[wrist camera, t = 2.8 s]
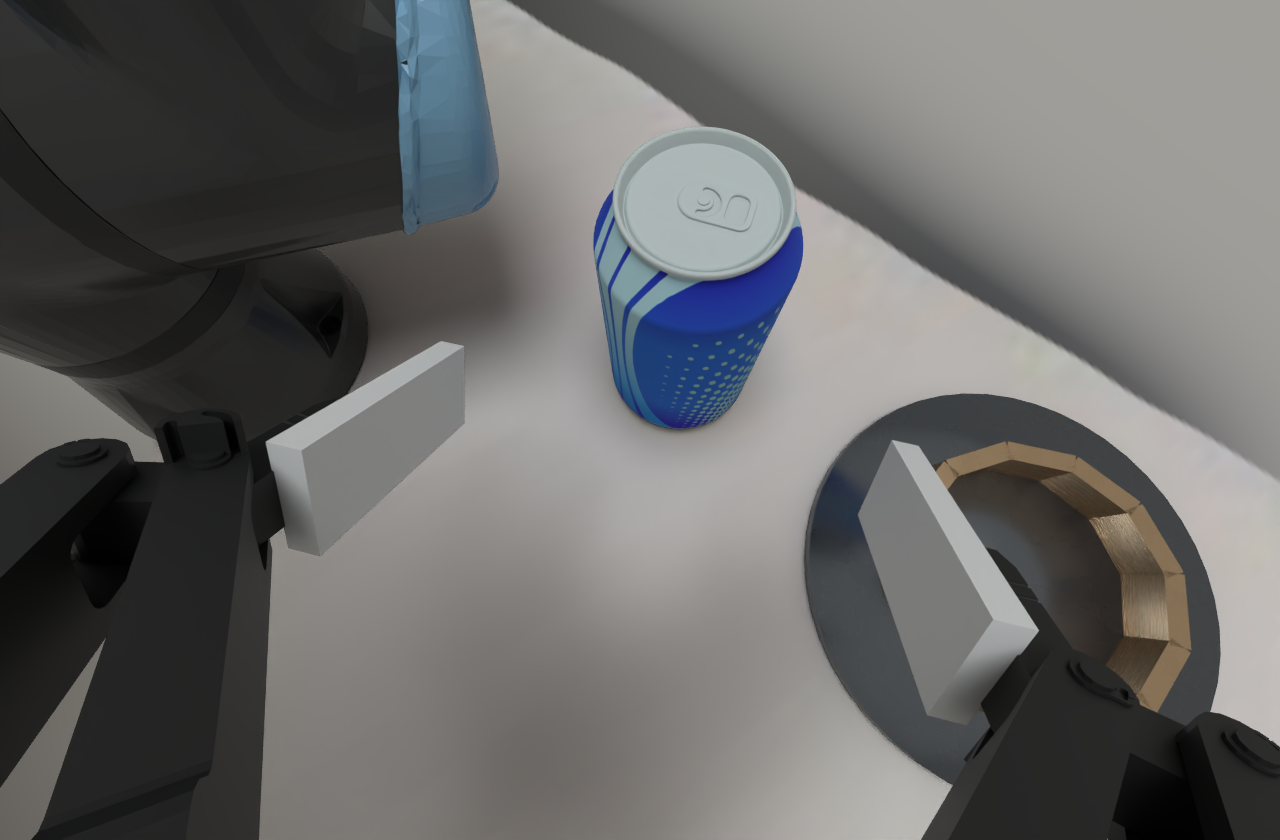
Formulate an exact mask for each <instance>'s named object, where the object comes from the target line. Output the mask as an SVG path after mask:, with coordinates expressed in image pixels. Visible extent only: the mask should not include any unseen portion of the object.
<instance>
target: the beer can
mask: <svg viewBox="0 0 1280 840" xmlns="http://www.w3.org/2000/svg"><path fill="white" fill-rule="evenodd" d="M594 257H595V264H596V270H597V276H598V283H599V289H600V295H601V302H602V308H603V315H604V321H605V327H606V334H607V340H608V346H609V353H610V359H611V365H612V372H613V377H614V382H615V385H616V388H617V390H618V392H619V394H620V395H621V397H622V399H623V400H624V401H625V403H626V404H627V405H628V406H629V407H630V408H631V409H632V410H633V411H634V412H635V413H636V414H638V415H639V416H640V417H642V418H643V419H645V420H647V421H649V422H651V423H654V424H656V425H659V426H663V427H668V428H677V429H682V428H693V427H697V426H701V425H704V424H706V423H709V422H711V421H713V420H715V419H716V418H718V417H719V416H721V415H722V414H723V413H725V412H726V411H727V410H728V409H729V408H730V407H731V406H732V405H733V403H734V402H735V401H736V399H737V397H738V396H739V394H740V392H741V390H742V388H743V386H744V384H745V382H746V380H747V378H748V376H749V374H750V372H751V370H752V368H753V366H754V364H755V362H756V360H757V358H758V356H759V353H760V351H761V349H762V347H763V345H764V343H765V341H766V339H767V337H768V335H769V333H770V331H771V329H772V327H773V325H774V323H775V321H776V319H777V317H778V315H779V313H780V311H781V309H782V307H783V305H784V303H785V301H786V299H787V297H788V295H789V293H790V291H791V289H792V287H793V285H794V283H795V281H796V279H797V276H798V273H799V270H800V267H801V262H802V257H803V236H802V229H801V225H800V221H799V218H798V215H797V213H796V196H795V190H794V186H793V183H792V181H791V178H790V176H789V174H788V172H787V170H786V169H785V167H784V166H783V164H782V163H781V162H780V161H779V159H778V158H777V157H776V156H775V155H774V154H773V153H772V152H771V151H769V150H768V149H767V148H766V147H764V146H763V145H761V144H760V143H758V142H757V141H755V140H753V139H751V138H749V137H747V136H745V135H742V134H739V133H737V132H733V131H730V130H726V129H721V128H714V127H690V128H683V129H678V130H674V131H670V132H667V133H664V134H662V135H660V136H657V137H655V138H653V139H651V140H650V141H648V142H646V143H645V144H644V145H642V146H641V147H640V148H638V149H637V150H636V151H635V152H634V153H633V154H632V155H631V156H630V157H629V158H628V160H627V161H626V162H625V163H624V165H623V167H622V168H621V170H620V172H619V174H618V176H617V179H616V182H615V185H614V189H613V190H612V192H611V193H610V194H609V196H608V197H607V199H606V200H605V202H604V204H603V206H602V208H601V210H600V213H599V215H598V218H597V221H596V225H595V231H594Z"/></svg>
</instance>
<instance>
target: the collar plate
mask: <svg viewBox="0 0 1280 840" xmlns="http://www.w3.org/2000/svg"><path fill="white" fill-rule="evenodd" d="M891 440H894V441H899V442H903V443H908V444H912V445H917V446H919V447H920V449H921V450H922V452H923V453H924V455H925V456H926V458H927V460H928V461H929V463H930V464H931V466H932V467H933V469H934V470H935V472H936V473H937V475H938V476H939V478H940V479H941V481H942V483H943V484H944V486H945V487H946V489H947V490H948V492H949V493H950V495H951V496H952V498H953V499H954V501H955V502H956V504H957V506H958V507H959V509H960V510H961V512H962V513H963V515H964V516H965V518H966V519H967V521H968V522H969V524H970V525H971V527H972V529H973V530H974V532H975V533H976V535H977V536H978V538H979V539H980V541H981V542H982V544H983V545H984V547H986V548H990V549H995V550H997V551H998V552H999V553H1000V554H1002V555H1003V556H1004V557H1005V558H1006V559H1007V560H1008V561H1009V562H1011V563H1012V564H1013V565H1014V566H1015V567H1016V568H1017V569H1018V571H1019V572H1020V574H1021V575H1022V577H1023V578H1024V579H1025V581H1026V582H1027V584H1028V588H1031V589H1032V591H1033V592H1034V594H1035V595H1036V597H1037V598H1038V603H1041V604H1042V605H1043V607H1044V608H1045V610H1046V611H1047V612H1048V614H1049V615H1050V617H1051V618H1052V620H1053V621H1054V622H1055V624H1056V625H1057V627H1058V628H1059V630H1060V631H1061V632H1062V634H1063V635H1064V637H1065V638H1066V640H1067V641H1068V643H1069V644H1070V645H1071V647H1072V648H1073V650H1077V651H1080V652H1083V653H1085V654H1087V655H1089V656H1091V657H1093V658H1095V659H1097V660H1098V661H1100V662H1102V663H1103V664H1105V665H1106V666H1107V667H1109V668H1110V669H1111V670H1113V671H1114V672H1116V673H1117V674H1118V675H1119V676H1120V677H1121V678H1122V679H1123V680H1124V681H1125V682H1126V683H1127V684H1128V685H1129V686H1130V687H1131V688H1132V690H1133V691H1134V693H1135V694H1136V696H1137V698H1138V699H1139V701H1140V705H1142V706H1144V707H1146V708H1148V709H1150V710H1152V711H1155V712H1157V713H1159V714H1161V715H1163V716H1165V717H1168V718H1170V719H1172V720H1174V721H1176V722H1178V723H1181V724H1183V725H1185V726H1186V725H1188V724H1189V723H1190V722H1191V721H1192V720H1193V719H1194V718H1195V717H1196V716H1198V715H1199V714H1202V713H1204V712H1210V710H1211V707H1212V703H1213V699H1214V695H1215V691H1216V688H1217V684H1218V675H1219V665H1220V630H1219V622H1218V616H1217V610H1216V604H1215V599H1214V595H1213V592H1212V589H1211V585H1210V582H1209V579H1208V575H1207V572H1206V569H1205V567H1204V565H1203V562H1202V560H1201V558H1200V555H1199V553H1198V551H1197V548H1196V546H1195V544H1194V542H1193V540H1192V539H1191V537H1190V535H1189V533H1188V531H1187V530H1186V528H1185V526H1184V524H1183V522H1182V521H1181V519H1180V518H1179V516H1178V515H1177V513H1176V512H1175V510H1174V509H1173V508H1172V506H1171V505H1170V503H1169V502H1168V500H1167V499H1166V498H1165V496H1164V495H1163V494H1162V493H1161V492H1160V490H1159V489H1158V488H1157V487H1156V486H1155V485H1154V483H1153V482H1152V481H1151V480H1150V479H1149V478H1148V476H1147V475H1146V474H1145V473H1143V472H1142V471H1141V470H1140V469H1139V468H1138V467H1137V466H1136V465H1135V464H1134V463H1133V462H1132V461H1131V460H1130V459H1129V458H1128V457H1127V456H1126V455H1124V454H1123V453H1122V452H1120V451H1119V450H1118V449H1117V448H1115V447H1114V446H1113V445H1112V444H1110V443H1109V442H1108V441H1106V440H1105V439H1104V438H1102V437H1101V436H1099V435H1097V434H1096V433H1094V432H1093V431H1091V430H1090V429H1088V428H1086V427H1085V426H1083V425H1081V424H1079V423H1078V422H1076V421H1074V420H1072V419H1070V418H1068V417H1066V416H1064V415H1062V414H1060V413H1057V412H1055V411H1052V410H1049V409H1047V408H1044V407H1041V406H1039V405H1036V404H1033V403H1029V402H1025V401H1021V400H1018V399H1014V398H1009V397H1002V396H995V395H989V394H956V395H945V396H939V397H934V398H930V399H925V400H921V401H918V402H915V403H913V404H910V405H907V406H905V407H902V408H899V409H897V410H896V411H894V412H892V413H890V414H888V415H886V416H885V417H883V418H881V419H879V420H878V421H876V422H875V423H874V424H872V425H871V426H870V427H868V428H867V429H866V430H864V431H863V432H862V433H860V434H859V435H858V436H856V437H855V438H854V439H853V440H852V441H851V442H850V444H849V445H848V446H847V447H846V448H845V449H844V450H843V451H842V452H841V453H840V454H839V456H838V457H837V458H836V460H835V461H834V463H833V464H832V465H831V467H830V468H829V470H828V471H827V473H826V475H825V477H824V479H823V481H822V483H821V485H820V487H819V489H818V491H817V494H816V497H815V500H814V503H813V506H812V509H811V512H810V517H809V522H808V527H807V532H806V541H805V557H804V561H805V577H806V588H807V593H808V598H809V604H810V609H811V613H812V616H813V620H814V623H815V626H816V629H817V632H818V635H819V639H820V641H821V643H822V645H823V647H824V650H825V652H826V654H827V656H828V659H829V661H830V663H831V665H832V667H833V669H834V670H835V672H836V674H837V675H838V677H839V679H840V680H841V682H842V684H843V686H844V687H845V689H846V691H847V692H848V693H849V695H850V696H851V697H852V699H853V700H854V701H855V703H856V704H857V705H858V707H859V708H860V709H861V711H862V712H863V713H864V715H865V716H866V717H867V718H868V719H869V720H870V721H871V722H872V723H873V724H874V725H875V726H876V727H877V728H878V729H879V730H880V732H881V733H882V734H883V735H884V736H885V737H886V738H887V739H889V740H890V741H891V742H892V743H893V744H894V745H896V746H897V747H898V748H899V749H900V750H902V751H903V752H904V753H905V754H906V755H908V756H909V757H910V758H911V759H913V760H914V761H916V762H918V763H919V764H921V765H922V766H924V767H925V768H927V769H928V770H930V771H931V772H933V773H934V774H936V775H937V776H939V777H940V778H942V779H943V780H945V781H946V782H948V783H950V784H952V785H954V783H955V781H956V780H957V778H958V776H959V774H960V773H961V771H962V769H963V768H964V766H965V764H966V763H967V762H966V761H965V760H964V758H965V757H966V756H967V754H968V753H969V752H970V751H971V749H972V748H973V747H974V746H975V744H976V743H977V742H978V741H979V739H980V738H981V737H982V736H983V734H984V733H985V732H986V731H987V730H988V728H989V727H990V724H989V722H988V720H987V717H986V715H985V713H984V711H983V709H982V706H981V707H980V708H979V710H978V711H977V712H976V714H975V715H974V716H973V717H972V719H971V720H970V721H969V723H968V724H967V725H963V724H959V723H955V722H951V721H947V720H943V719H940V718H936V717H932V716H928V715H927V714H926V711H925V708H924V705H923V702H922V699H921V697H920V694H919V691H918V688H917V685H916V682H915V679H914V676H913V673H912V670H911V668H910V665H909V662H908V659H907V656H906V653H905V650H904V647H903V644H902V641H901V639H900V636H899V633H898V630H897V627H896V624H895V621H894V618H893V615H892V612H891V610H890V607H889V604H888V601H887V598H886V595H885V592H884V589H883V586H882V583H881V581H880V578H879V575H878V572H877V569H876V566H875V563H874V560H873V557H872V555H871V552H870V549H869V546H868V543H867V540H866V537H865V534H864V531H863V528H862V526H861V523H860V520H859V517H858V513H859V511H860V509H861V507H862V504H863V502H864V500H865V498H866V496H867V493H868V491H869V489H870V487H871V485H872V482H873V480H874V478H875V476H876V474H877V471H878V469H879V467H880V465H881V462H882V460H883V458H884V456H885V454H886V451H887V449H888V447H889V445H890V443H891Z"/></svg>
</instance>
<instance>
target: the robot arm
mask: <svg viewBox="0 0 1280 840" xmlns="http://www.w3.org/2000/svg"><path fill="white" fill-rule="evenodd" d="M498 177H499V170H498V161H497V154H496V148H495V142H494V137H493V131H492V125H491V119H490V113H489V108H488V102H487V96H486V90H485V85H484V79H483V73H482V68H481V62H480V57H479V51H478V46H477V41H476V35H475V29H474V24H473V18H472V12H471V6H470V0H0V352H1V353H5V354H7V355H10V356H13V357H15V358H18V359H21V360H24V361H27V362H30V363H33V364H36V365H39V366H41V367H44V368H47V369H50V370H53V371H55V372H58V373H60V374H63V375H66V376H68V377H70V378H71V379H72V380H73V381H75V382H76V383H77V384H79V385H80V386H81V387H82V388H84V389H85V390H86V391H88V392H89V393H90V394H92V395H93V396H94V397H96V398H97V399H98V400H99V401H101V402H102V403H103V404H105V405H106V406H107V407H109V408H110V409H111V410H113V411H114V412H115V413H117V414H118V415H119V416H120V417H122V418H123V419H124V420H125V421H127V422H128V423H129V424H131V425H132V426H133V427H135V428H136V429H137V430H139V431H140V432H142V433H144V434H145V435H147V436H149V437H151V438H153V439H155V440H157V441H158V444H159V448H160V451H161V454H162V457H163V460H164V463H162V462H134V459H133V456H132V454H131V451H130V448H129V447H128V445H127V443H125V442H122V441H120V440H117V439H104V438H101V439H82V440H78V441H72V442H68V443H65V444H63V445H61V446H58V447H56V448H52V449H49V450H48V451H46V452H44V453H42V454H41V455H39V456H37V457H36V458H34V459H33V460H32V461H30V462H29V463H28V464H26V465H25V466H24V467H23V468H21V469H20V470H19V471H17V472H16V473H15V474H14V475H12V476H11V477H10V478H9V479H7V480H6V481H5V482H3V483H2V484H1V485H0V787H1V786H2V785H3V783H4V782H5V780H6V779H7V778H8V776H9V774H10V773H11V772H12V770H13V769H14V768H15V766H16V765H17V763H18V762H19V760H20V759H21V758H22V756H23V755H24V753H25V752H26V750H27V749H28V748H29V746H30V745H31V743H32V742H33V741H34V739H35V738H36V736H37V735H38V733H39V732H40V731H41V729H42V728H43V726H44V725H45V723H46V722H47V721H48V719H49V718H50V716H51V715H52V713H53V712H54V711H55V709H56V708H57V706H58V705H59V703H60V702H61V700H62V699H63V698H64V696H65V695H66V693H67V692H68V691H69V689H70V688H71V686H72V685H73V683H74V682H75V681H76V679H77V678H78V676H79V675H80V674H81V672H82V671H83V669H84V668H85V667H86V665H87V663H88V662H89V660H90V659H91V658H92V657H93V655H94V654H95V652H96V651H97V649H98V648H99V646H100V645H101V644H102V642H103V641H104V639H105V638H106V640H105V642H104V645H103V648H102V651H101V654H100V657H99V660H98V663H97V666H96V669H95V671H94V674H93V677H92V680H91V683H90V686H89V689H88V692H87V695H86V698H85V701H84V704H83V707H82V709H81V713H80V715H79V718H78V721H77V724H76V727H75V730H74V733H73V736H72V739H71V741H70V744H69V747H68V750H67V754H66V756H65V759H64V762H63V765H62V768H61V771H60V774H59V776H58V779H57V782H56V785H55V788H54V791H53V794H52V797H51V800H50V803H49V806H48V809H47V811H46V814H45V818H44V820H43V822H42V824H41V826H40V829H39V831H38V832H37V834H36V835H35V836H34V837H33V838H32V840H259V823H260V802H261V780H262V759H263V738H264V716H265V695H266V674H267V652H268V631H269V610H270V589H271V567H272V547H271V543H270V539H269V538H271V537H272V536H273V535H274V534H276V533H277V532H278V531H279V530H281V529H282V528H283V527H284V530H285V535H286V539H287V544H288V548H291V549H294V550H298V551H302V552H306V553H310V554H314V555H317V556H321V555H322V554H323V553H324V552H325V551H326V550H328V549H329V548H330V547H331V546H332V545H333V544H334V543H335V542H336V541H337V540H338V539H339V538H341V537H342V536H343V535H344V534H345V533H346V532H347V531H348V530H349V529H350V528H351V527H352V526H354V525H355V524H356V523H357V522H358V521H359V520H360V519H361V518H362V517H363V516H364V515H365V514H367V513H368V512H369V511H370V510H371V509H372V508H373V507H374V506H375V505H376V504H377V503H378V502H380V501H381V500H382V499H383V498H384V497H385V496H386V495H387V494H388V493H389V492H390V491H391V490H393V489H394V488H395V487H396V486H397V485H398V484H399V483H400V482H401V481H402V480H403V479H404V478H406V477H407V476H408V475H409V474H410V473H411V472H412V471H413V470H414V469H415V468H416V467H417V466H419V465H420V464H421V463H422V462H423V461H424V460H425V459H426V458H427V457H428V456H429V455H431V454H432V453H433V452H434V451H435V450H436V449H437V448H438V447H439V446H440V445H441V444H442V443H444V442H445V441H446V440H447V439H448V438H449V437H450V436H451V435H452V434H453V433H454V432H455V431H457V430H458V429H459V428H460V427H461V426H462V425H463V424H464V346H462V345H457V344H452V343H448V342H443V341H440V342H438V343H437V344H435V345H433V346H432V347H430V348H428V349H426V350H425V351H423V352H421V353H419V354H418V355H416V356H414V357H412V358H411V359H409V360H407V361H405V362H404V363H402V364H400V365H398V366H397V367H395V368H393V369H391V370H390V371H388V372H386V373H384V374H383V375H381V376H379V377H378V378H376V379H374V380H372V381H371V382H369V383H367V384H365V385H364V386H362V387H360V388H358V389H357V390H355V391H353V392H351V393H350V394H348V395H346V396H344V395H345V393H346V392H347V390H348V389H349V387H350V386H351V384H352V382H353V381H354V379H355V377H356V375H357V373H358V371H359V368H360V366H361V363H362V360H363V357H364V353H365V349H366V343H367V317H366V312H365V308H364V305H363V302H362V300H361V297H360V295H359V293H358V291H357V290H356V288H355V287H354V285H353V284H352V283H351V281H350V280H349V279H348V278H347V277H346V276H345V275H344V274H343V273H342V272H341V271H340V270H339V269H338V268H337V267H336V266H335V265H334V264H333V263H332V262H331V261H330V260H329V259H328V258H327V257H326V256H325V255H323V254H322V253H321V252H319V251H318V250H316V249H315V248H318V247H323V246H327V245H332V244H337V243H342V242H346V241H351V240H356V239H360V238H365V237H370V236H375V235H379V234H384V233H389V232H394V231H398V230H403V231H404V233H405V234H412V233H414V232H416V231H417V229H418V227H420V226H423V225H427V224H430V223H434V222H438V221H442V220H446V219H450V218H454V217H457V216H461V215H465V214H469V213H472V212H475V211H476V210H478V209H480V208H482V207H483V206H484V205H486V203H487V202H488V201H489V200H490V199H491V197H492V196H493V194H494V192H495V190H496V187H497V184H498ZM343 396H344V397H343ZM342 397H343V398H342ZM858 517H859V520H860V523H861V526H862V528H863V531H864V534H865V537H866V540H867V543H868V546H869V549H870V552H871V555H872V557H873V560H874V563H875V566H876V569H877V572H878V575H879V578H880V581H881V583H882V586H883V589H884V592H885V595H886V598H887V601H888V604H889V607H890V610H891V612H892V615H893V618H894V621H895V624H896V627H897V630H898V633H899V636H900V639H901V641H902V644H903V647H904V650H905V653H906V656H907V659H908V662H909V665H910V668H911V670H912V673H913V676H914V679H915V682H916V685H917V688H918V691H919V694H920V697H921V699H922V702H923V705H924V708H925V711H926V714H927V715H928V716H932V717H936V718H940V719H943V720H947V721H951V722H955V723H959V724H963V725H967V724H968V723H969V721H970V720H971V719H972V717H973V716H974V715H975V714H976V712H977V711H978V710H979V708H980V707H981V706H982V709H983V711H984V713H985V715H986V717H987V720H988V722H989V724H990V727H989V728H988V730H987V731H986V732H985V733H984V734H983V736H982V737H981V738H980V739H979V741H978V742H977V743H976V744H975V746H974V747H973V748H972V749H971V751H970V752H969V753H968V754H967V756H966V757H965V758H964V760H965V761H966V762H967V763H966V764H965V766H964V768H963V769H962V771H961V773H960V774H959V776H958V778H957V780H956V781H955V783H954V785H953V786H952V788H951V790H950V791H949V793H948V795H947V797H946V798H945V800H944V802H943V803H942V805H941V807H940V808H939V810H938V812H937V814H936V815H935V817H934V819H933V820H932V822H931V824H930V825H929V827H928V829H927V831H926V832H925V834H924V836H923V837H922V839H921V840H1107V838H1108V840H1280V747H1279V746H1278V745H1277V744H1275V743H1274V742H1273V741H1270V740H1268V739H1269V738H1267V737H1266V736H1264V735H1263V734H1261V733H1260V732H1258V731H1256V730H1253V729H1252V728H1250V727H1248V726H1246V725H1245V724H1243V723H1241V722H1240V721H1237V720H1235V719H1232V718H1230V717H1227V716H1225V715H1222V714H1219V713H1212V712H1204V713H1202V714H1199V715H1198V716H1196V717H1195V718H1194V719H1193V720H1192V721H1191V722H1190V723H1189V724H1188V725H1186V726H1185V725H1183V724H1181V723H1178V722H1176V721H1174V720H1172V719H1170V718H1168V717H1165V716H1163V715H1161V714H1159V713H1157V712H1155V711H1152V710H1150V709H1148V708H1146V707H1144V706H1142V705H1140V701H1139V699H1138V698H1137V696H1136V694H1135V693H1134V691H1133V690H1132V688H1131V687H1130V686H1129V685H1128V684H1127V683H1126V682H1125V681H1124V680H1123V679H1122V678H1121V677H1120V676H1119V675H1118V674H1117V673H1116V672H1114V671H1113V670H1111V669H1110V668H1109V667H1107V666H1106V665H1105V664H1103V663H1102V662H1100V661H1098V660H1097V659H1095V658H1093V657H1091V656H1089V655H1087V654H1085V653H1083V652H1080V651H1077V650H1073V648H1072V647H1071V645H1070V644H1069V643H1068V641H1067V640H1066V638H1065V637H1064V635H1063V634H1062V632H1061V631H1060V630H1059V628H1058V627H1057V625H1056V624H1055V622H1054V621H1053V620H1052V618H1051V617H1050V615H1049V614H1048V612H1047V611H1046V610H1045V608H1044V607H1043V605H1042V604H1041V603H1038V598H1037V597H1036V595H1035V594H1034V592H1033V591H1032V589H1031V588H1028V584H1027V582H1026V581H1025V579H1024V578H1023V577H1022V575H1021V574H1020V572H1019V571H1018V569H1017V568H1016V567H1015V566H1014V565H1013V564H1012V563H1011V562H1009V561H1008V560H1007V559H1006V558H1005V557H1004V556H1003V555H1002V554H1000V553H999V552H998V551H997V550H995V549H990V548H986V547H984V545H983V544H982V542H981V541H980V539H979V538H978V536H977V535H976V533H975V532H974V530H973V529H972V527H971V525H970V524H969V522H968V521H967V519H966V518H965V516H964V515H963V513H962V512H961V510H960V509H959V507H958V506H957V504H956V502H955V501H954V499H953V498H952V496H951V495H950V493H949V492H948V490H947V489H946V487H945V486H944V484H943V483H942V481H941V479H940V478H939V476H938V475H937V473H936V472H935V470H934V469H933V467H932V466H931V464H930V463H929V461H928V460H927V458H926V456H925V455H924V453H923V452H922V450H921V449H920V447H919V446H917V445H912V444H908V443H903V442H899V441H894V440H891V443H890V445H889V447H888V449H887V451H886V454H885V456H884V458H883V460H882V462H881V465H880V467H879V469H878V471H877V474H876V476H875V478H874V480H873V482H872V485H871V487H870V489H869V491H868V493H867V496H866V498H865V500H864V502H863V504H862V507H861V509H860V511H859V513H858Z"/></svg>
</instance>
